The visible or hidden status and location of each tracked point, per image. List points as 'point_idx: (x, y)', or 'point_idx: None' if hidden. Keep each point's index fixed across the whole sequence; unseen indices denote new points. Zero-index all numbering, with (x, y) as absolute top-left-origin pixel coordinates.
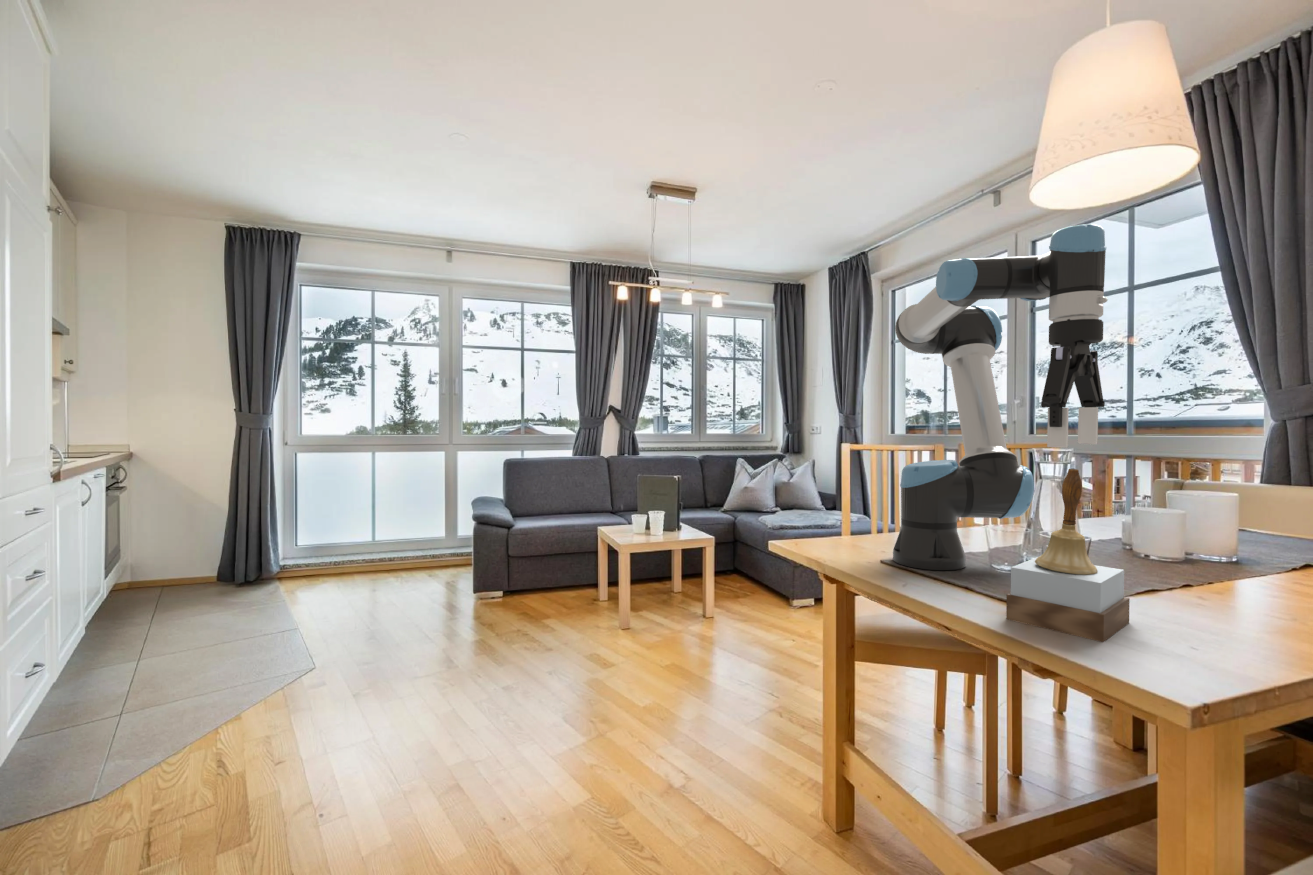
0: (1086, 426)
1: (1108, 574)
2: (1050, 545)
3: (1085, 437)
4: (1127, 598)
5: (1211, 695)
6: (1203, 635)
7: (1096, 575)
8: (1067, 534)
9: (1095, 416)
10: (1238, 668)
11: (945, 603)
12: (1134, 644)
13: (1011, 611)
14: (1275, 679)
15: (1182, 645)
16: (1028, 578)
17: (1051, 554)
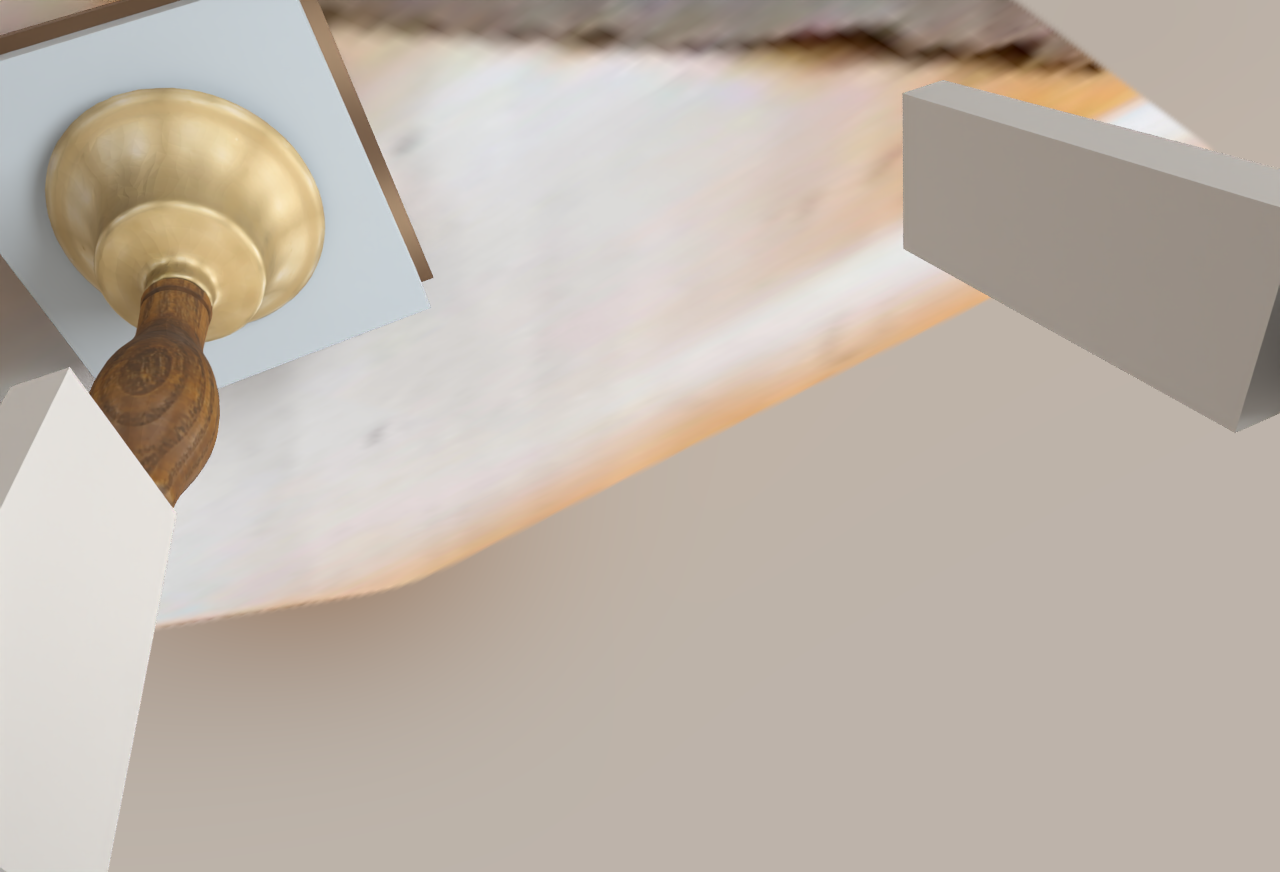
0: (1036, 226)
1: (291, 341)
2: (97, 218)
3: (948, 179)
4: (423, 277)
5: None
6: (508, 380)
7: (224, 339)
8: (136, 312)
9: (1127, 359)
10: (335, 536)
11: None
12: (236, 382)
13: None
14: (345, 583)
15: (368, 416)
16: None
17: (85, 228)
